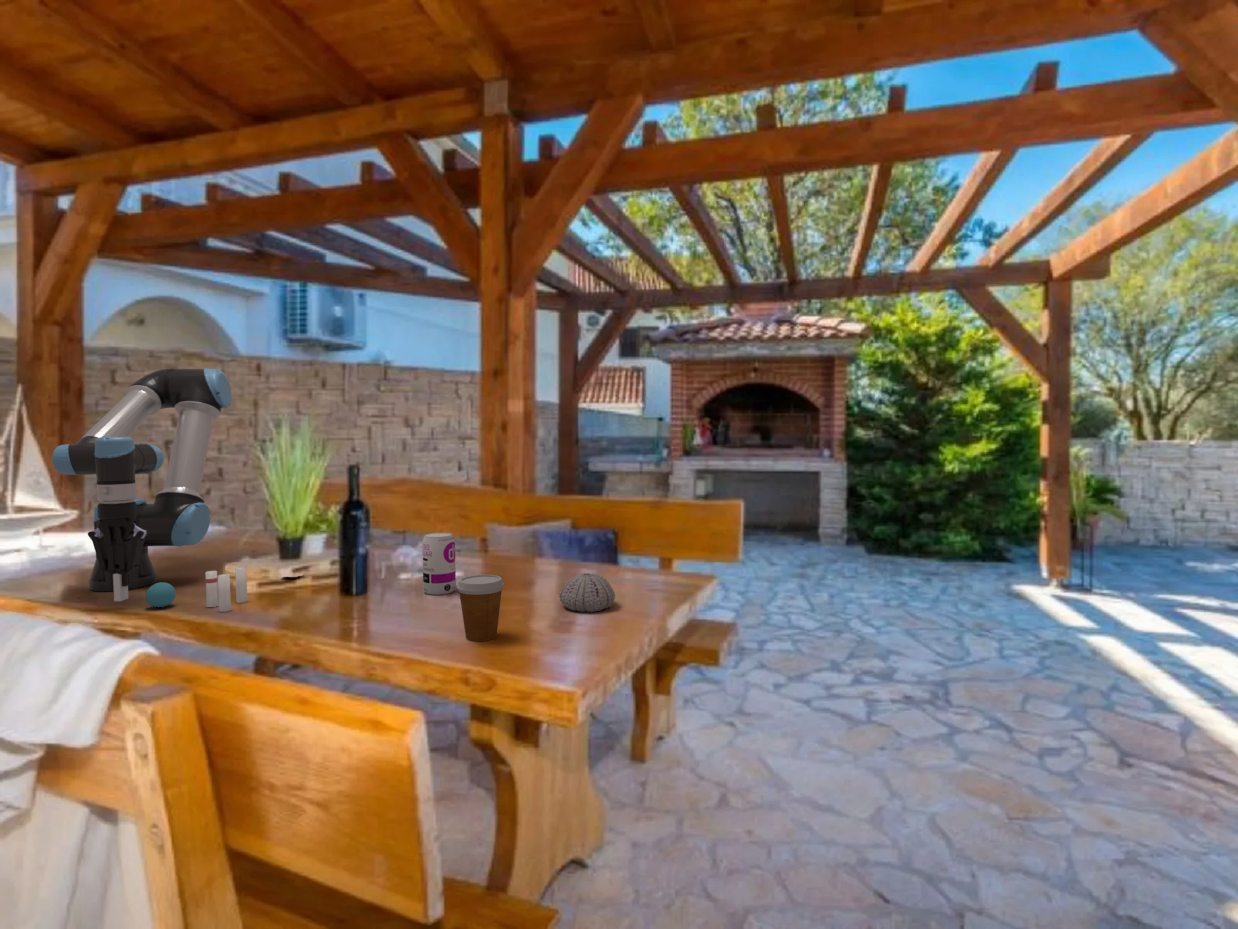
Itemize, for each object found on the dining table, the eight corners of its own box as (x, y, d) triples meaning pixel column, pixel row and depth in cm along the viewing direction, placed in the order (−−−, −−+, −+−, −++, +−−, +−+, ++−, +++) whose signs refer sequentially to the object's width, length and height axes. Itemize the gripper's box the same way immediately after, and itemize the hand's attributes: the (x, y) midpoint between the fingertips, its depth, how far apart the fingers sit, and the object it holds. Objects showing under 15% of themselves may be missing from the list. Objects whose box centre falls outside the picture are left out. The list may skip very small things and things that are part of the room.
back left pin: (236, 601, 172) (234, 567, 171) (247, 600, 173) (245, 566, 172) (236, 603, 170) (235, 569, 169) (247, 602, 171) (246, 568, 170)
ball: (146, 606, 167) (145, 581, 167) (176, 602, 171) (175, 578, 170) (145, 612, 162) (144, 586, 162) (176, 608, 166) (175, 583, 165)
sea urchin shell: (622, 602, 170) (621, 569, 170) (606, 617, 157) (606, 582, 157) (571, 598, 174) (570, 566, 174) (551, 612, 161) (551, 578, 161)
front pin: (206, 606, 167) (204, 571, 167) (218, 604, 169) (216, 570, 168) (206, 608, 165) (205, 573, 165) (218, 606, 167) (217, 572, 166)
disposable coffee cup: (461, 630, 147) (460, 574, 146) (506, 629, 148) (505, 573, 147) (454, 644, 138) (453, 585, 137) (502, 643, 139) (501, 584, 138)
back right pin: (219, 610, 164) (217, 574, 163) (230, 608, 165) (229, 573, 164) (219, 612, 162) (218, 576, 161) (231, 611, 163) (229, 575, 162)
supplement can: (461, 589, 183) (460, 533, 182) (444, 596, 176) (443, 538, 175) (435, 586, 186) (434, 531, 185) (416, 594, 178) (415, 536, 177)
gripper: (77, 503, 160) (81, 604, 162) (134, 503, 161) (138, 603, 162) (100, 500, 168) (104, 596, 169) (155, 499, 168) (159, 595, 169)
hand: (121, 599), depth 166 cm, fingers closed
